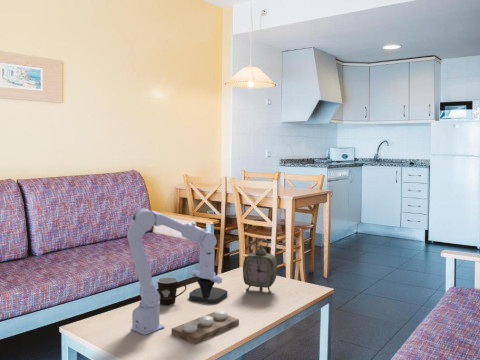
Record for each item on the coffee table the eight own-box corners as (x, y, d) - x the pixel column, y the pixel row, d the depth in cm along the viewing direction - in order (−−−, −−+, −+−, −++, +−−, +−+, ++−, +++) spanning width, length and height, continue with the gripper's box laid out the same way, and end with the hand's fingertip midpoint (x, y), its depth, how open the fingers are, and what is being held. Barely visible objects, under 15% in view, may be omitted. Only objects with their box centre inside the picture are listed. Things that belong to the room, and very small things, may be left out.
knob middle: (206, 332, 161) (206, 322, 161) (196, 328, 164) (197, 318, 164) (215, 328, 165) (215, 318, 164) (206, 324, 168) (206, 314, 167)
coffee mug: (153, 304, 189) (153, 281, 188) (165, 298, 197) (165, 276, 196) (175, 309, 184) (175, 285, 183) (187, 302, 191) (187, 280, 191)
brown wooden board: (194, 344, 152) (194, 338, 152) (171, 333, 159) (171, 328, 159) (238, 324, 169) (238, 319, 169) (215, 316, 177) (216, 311, 177)
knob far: (221, 325, 167) (221, 315, 167) (212, 322, 170) (212, 312, 170) (229, 322, 171) (230, 312, 170) (220, 318, 174) (220, 309, 173)
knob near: (189, 339, 155) (190, 328, 155) (180, 335, 158) (180, 324, 158) (199, 335, 158) (199, 324, 158) (190, 331, 162) (190, 321, 161)
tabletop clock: (242, 292, 206) (243, 239, 204) (247, 287, 214) (248, 235, 213) (273, 296, 202) (274, 241, 200) (277, 290, 210) (278, 238, 208)
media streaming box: (214, 305, 189) (214, 298, 189) (185, 300, 196) (185, 293, 196) (230, 295, 203) (230, 289, 202) (202, 290, 209) (202, 284, 209)
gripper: (227, 264, 168) (227, 299, 169) (201, 257, 178) (200, 291, 179) (214, 268, 163) (213, 304, 164) (188, 260, 172) (187, 295, 173)
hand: (206, 297), depth 171 cm, fingers closed
